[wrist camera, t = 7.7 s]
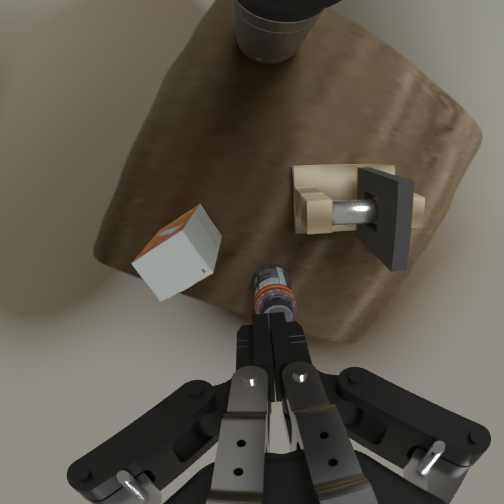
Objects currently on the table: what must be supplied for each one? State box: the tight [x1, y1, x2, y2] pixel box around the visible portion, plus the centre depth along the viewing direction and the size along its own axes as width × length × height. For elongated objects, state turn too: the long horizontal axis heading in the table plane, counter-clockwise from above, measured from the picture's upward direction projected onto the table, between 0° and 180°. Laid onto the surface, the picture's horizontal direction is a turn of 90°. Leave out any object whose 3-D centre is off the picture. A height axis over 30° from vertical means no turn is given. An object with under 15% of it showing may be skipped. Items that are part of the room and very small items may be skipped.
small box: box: [132, 204, 222, 302], centre depth 40 cm, size 8×6×13 cm
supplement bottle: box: [253, 265, 297, 322], centre depth 44 cm, size 6×6×11 cm
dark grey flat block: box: [356, 167, 414, 272], centre depth 34 cm, size 10×2×12 cm, turn 4°
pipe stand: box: [292, 164, 425, 234], centre depth 39 cm, size 10×16×11 cm, turn 94°
